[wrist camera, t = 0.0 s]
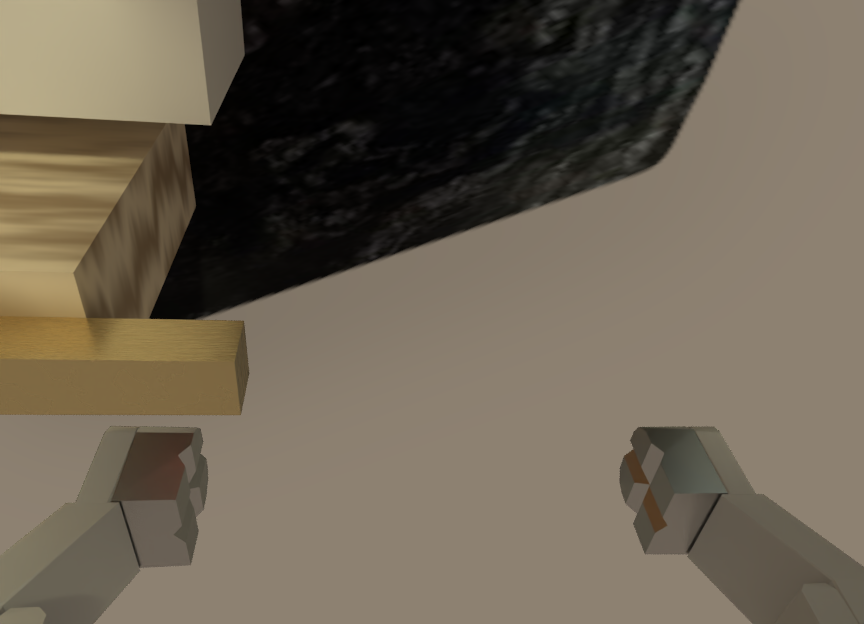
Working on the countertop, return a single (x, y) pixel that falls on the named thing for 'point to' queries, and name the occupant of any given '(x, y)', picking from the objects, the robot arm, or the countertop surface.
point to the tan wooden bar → (121, 366)
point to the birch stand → (89, 214)
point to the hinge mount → (119, 58)
